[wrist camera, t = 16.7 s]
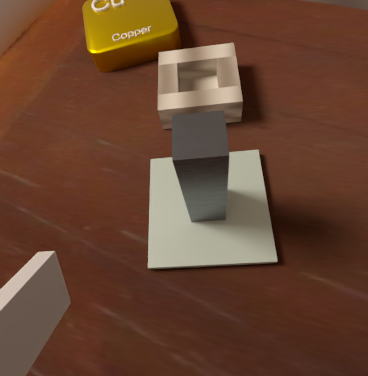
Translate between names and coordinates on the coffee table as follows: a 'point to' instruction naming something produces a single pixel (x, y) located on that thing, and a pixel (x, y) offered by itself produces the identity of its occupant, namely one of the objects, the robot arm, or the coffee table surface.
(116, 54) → the element tile
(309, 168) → the coffee table surface
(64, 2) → the coffee table surface
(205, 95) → the socket block
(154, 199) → the plate
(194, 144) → the peg
